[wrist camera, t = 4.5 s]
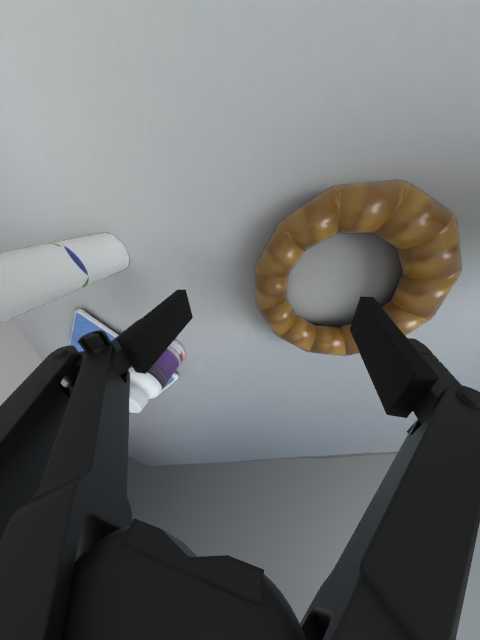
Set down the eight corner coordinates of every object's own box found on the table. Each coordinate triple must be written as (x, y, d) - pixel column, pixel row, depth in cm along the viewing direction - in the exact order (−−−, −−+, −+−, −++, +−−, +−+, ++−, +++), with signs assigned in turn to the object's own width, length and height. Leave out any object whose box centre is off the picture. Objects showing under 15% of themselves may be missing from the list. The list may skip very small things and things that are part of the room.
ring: (494, 171, 11) (549, 164, 9) (395, 348, 19) (409, 370, 17) (257, 193, 15) (249, 192, 12) (258, 335, 23) (254, 351, 21)
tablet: (181, 374, 32) (177, 380, 31) (156, 395, 39) (152, 400, 38) (82, 304, 28) (74, 308, 27) (74, 341, 35) (67, 346, 34)
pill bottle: (164, 329, 27) (111, 383, 19) (191, 351, 28) (153, 410, 20) (150, 345, 30) (99, 397, 22) (176, 364, 31) (136, 420, 23)
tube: (98, 260, 23) (-123, 332, 11) (94, 225, 20) (-203, 269, 8) (129, 275, 23) (-53, 364, 11) (129, 243, 20) (-110, 312, 8)
